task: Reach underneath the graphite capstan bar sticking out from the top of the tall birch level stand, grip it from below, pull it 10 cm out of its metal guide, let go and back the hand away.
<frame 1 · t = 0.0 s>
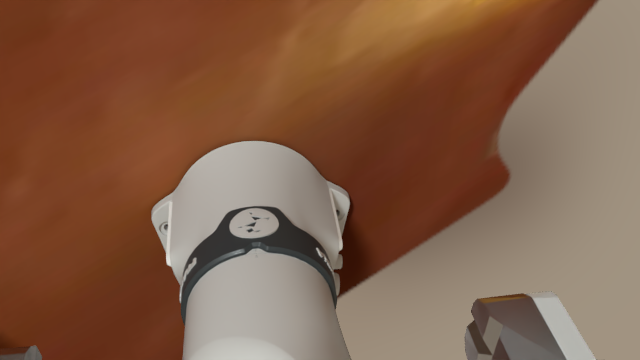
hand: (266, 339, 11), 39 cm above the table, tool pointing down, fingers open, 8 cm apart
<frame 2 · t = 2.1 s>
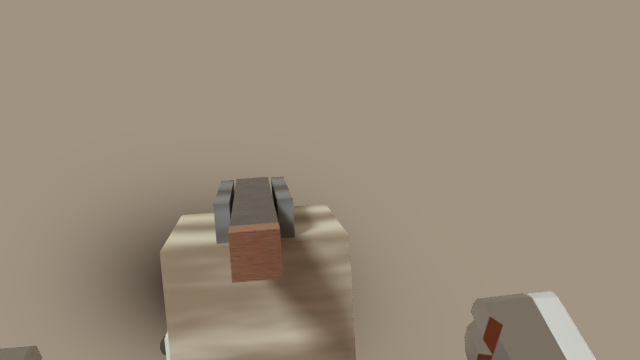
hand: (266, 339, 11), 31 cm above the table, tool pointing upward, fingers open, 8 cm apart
capstan bar: (254, 216, 38), point 28 cm above the table, slide at 0.0 cm
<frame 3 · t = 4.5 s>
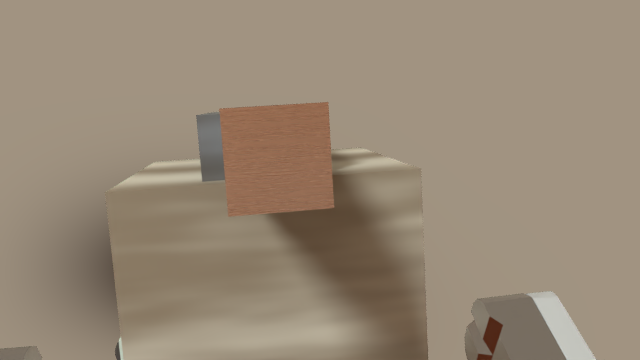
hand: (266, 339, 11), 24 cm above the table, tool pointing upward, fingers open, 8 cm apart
capstan bar: (264, 137, 23), point 28 cm above the table, slide at 0.0 cm
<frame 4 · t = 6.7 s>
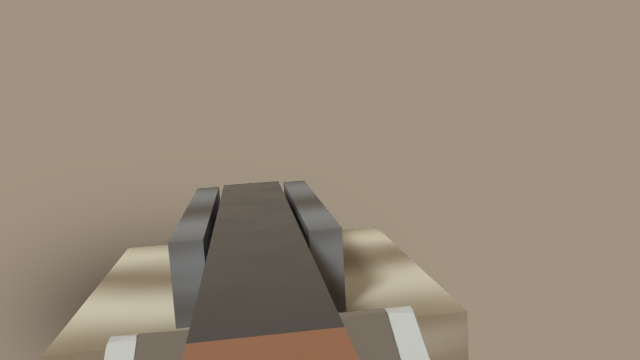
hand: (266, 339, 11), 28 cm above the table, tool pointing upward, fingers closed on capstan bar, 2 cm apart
capstan bar: (258, 267, 17), point 28 cm above the table, slide at 0.0 cm, touching gripper
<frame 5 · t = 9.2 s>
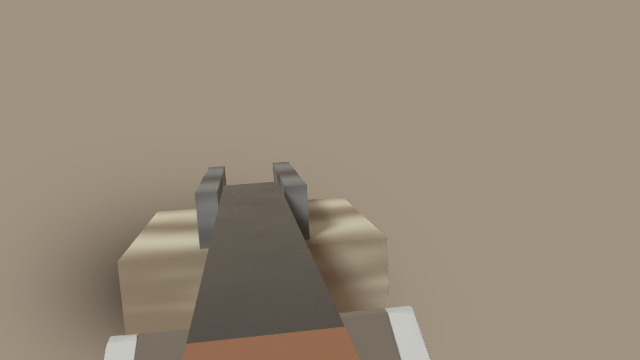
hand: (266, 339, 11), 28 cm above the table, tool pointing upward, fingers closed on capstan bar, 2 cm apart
capstan bar: (258, 267, 17), point 28 cm above the table, slide at 9.7 cm, touching gripper
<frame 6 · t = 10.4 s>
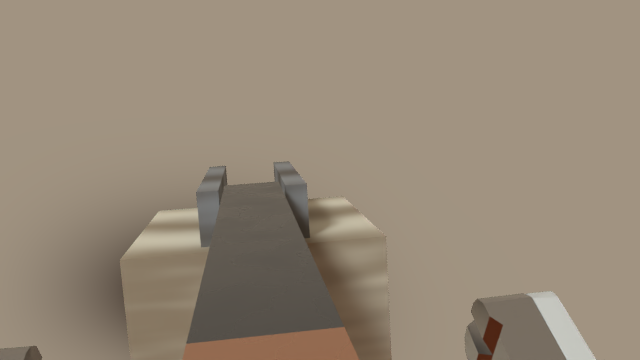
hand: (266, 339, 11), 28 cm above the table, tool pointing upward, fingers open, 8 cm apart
capstan bar: (259, 267, 17), point 28 cm above the table, slide at 10.0 cm
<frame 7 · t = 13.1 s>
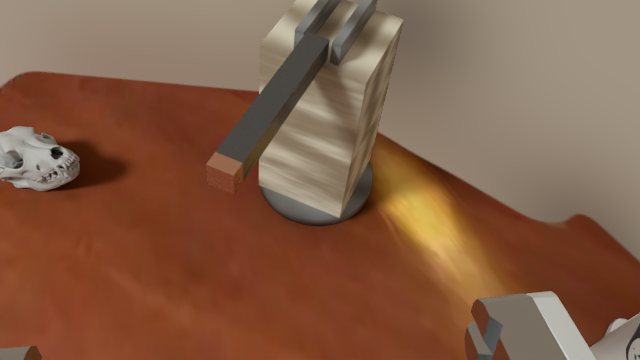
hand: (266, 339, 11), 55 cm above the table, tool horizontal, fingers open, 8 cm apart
capstan bar: (274, 105, 53), point 28 cm above the table, slide at 10.0 cm
level stand: (309, 189, 82), on the table
skull: (40, 177, 80), on the table
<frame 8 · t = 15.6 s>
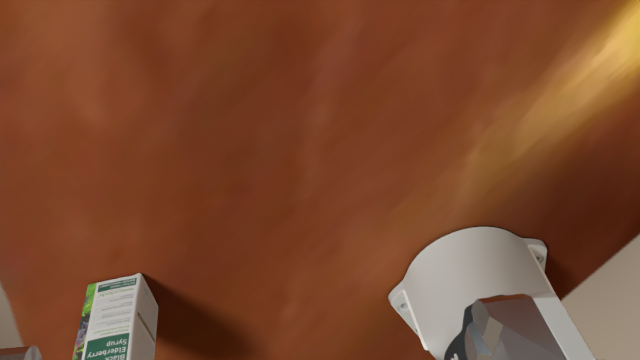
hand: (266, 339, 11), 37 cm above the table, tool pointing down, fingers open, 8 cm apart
syrup box: (125, 293, 62), on the table
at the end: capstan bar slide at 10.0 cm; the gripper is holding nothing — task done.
